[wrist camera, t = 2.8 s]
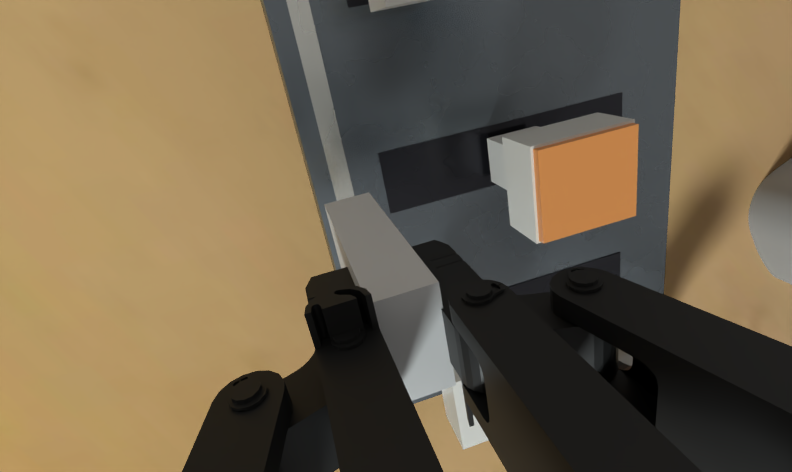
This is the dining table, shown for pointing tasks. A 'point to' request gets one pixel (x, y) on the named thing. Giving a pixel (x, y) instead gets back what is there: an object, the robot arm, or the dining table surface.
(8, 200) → the dining table surface
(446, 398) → the breaker
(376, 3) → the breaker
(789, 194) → the lumpy-topped squat cylinder
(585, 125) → the block
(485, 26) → the panel
